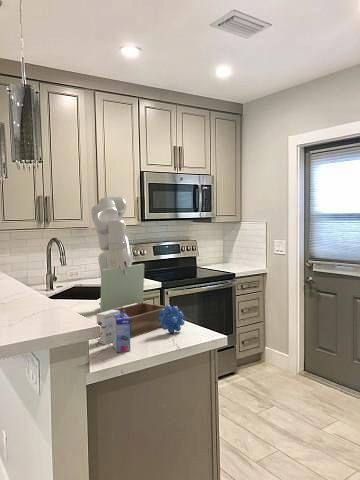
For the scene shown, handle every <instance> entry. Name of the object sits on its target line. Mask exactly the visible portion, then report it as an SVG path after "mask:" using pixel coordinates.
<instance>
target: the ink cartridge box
mask: <svg viewBox="0 0 360 480" xmlns="http://www.w3.org/2000/svg"><path fill="white" fill-rule="evenodd" d="M123 311H124V313H123ZM123 311H122V313H121V314H113V342H112V346H113V348H114V350H115V353H123V352H126V353H127V352H131V337H130V318H129V317H128V316H127V315H126V313H125V309H123Z"/></svg>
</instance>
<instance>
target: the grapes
mask: <svg viewBox="0 0 360 480" xmlns="http://www.w3.org/2000/svg"><path fill="white" fill-rule="evenodd" d="M164 306H165V309H161V310H160V315H162V316H159V317H158V320H159V322H160V323H162V324H161V327H162V328H161V329H162V330H167V331H168V333H170V334H174V332H175V331H176V332H180V331H181V329H182V327H181V326H184V325H185V320H184V319H183V318H184V312H182V311H179V307H178V306H177V305H174V306H171V304H166V305H164Z"/></svg>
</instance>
